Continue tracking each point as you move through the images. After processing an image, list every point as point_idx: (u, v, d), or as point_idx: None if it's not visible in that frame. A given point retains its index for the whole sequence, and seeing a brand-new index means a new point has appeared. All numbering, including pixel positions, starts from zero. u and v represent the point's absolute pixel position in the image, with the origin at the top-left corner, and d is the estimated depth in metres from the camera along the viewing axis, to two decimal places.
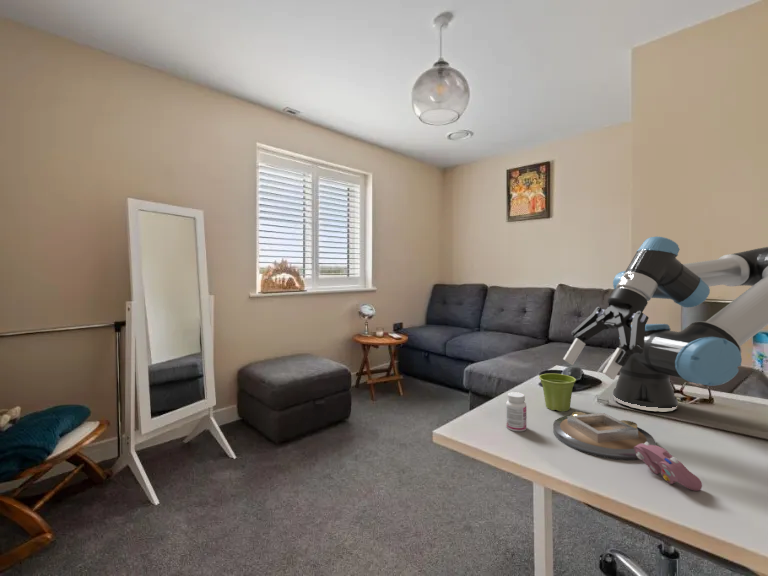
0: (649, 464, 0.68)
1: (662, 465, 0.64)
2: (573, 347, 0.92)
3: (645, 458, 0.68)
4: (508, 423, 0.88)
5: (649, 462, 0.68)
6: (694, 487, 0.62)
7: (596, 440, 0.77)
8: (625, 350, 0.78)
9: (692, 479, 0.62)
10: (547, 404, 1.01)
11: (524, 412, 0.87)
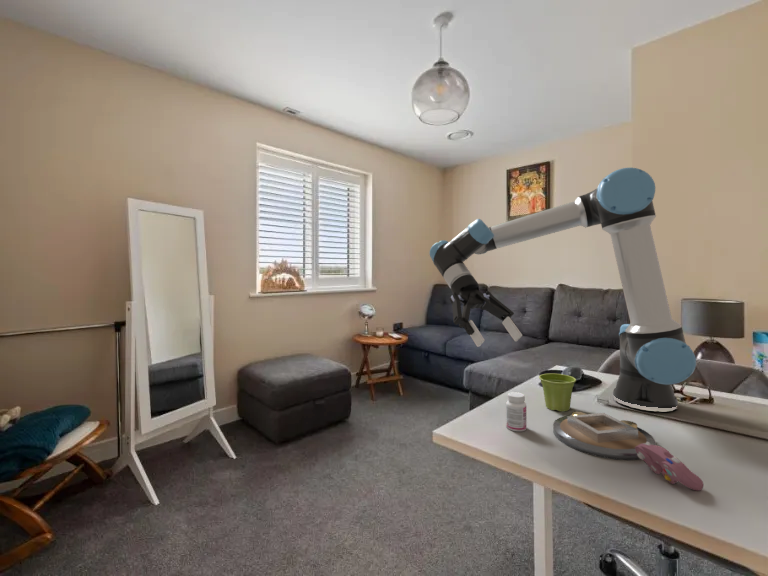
0: (650, 464, 0.68)
1: (664, 465, 0.64)
2: (507, 329, 0.99)
3: (646, 458, 0.68)
4: (508, 423, 0.88)
5: (651, 462, 0.68)
6: (695, 487, 0.62)
7: (596, 440, 0.77)
8: None
9: (693, 479, 0.62)
10: (547, 404, 1.01)
11: (524, 412, 0.87)
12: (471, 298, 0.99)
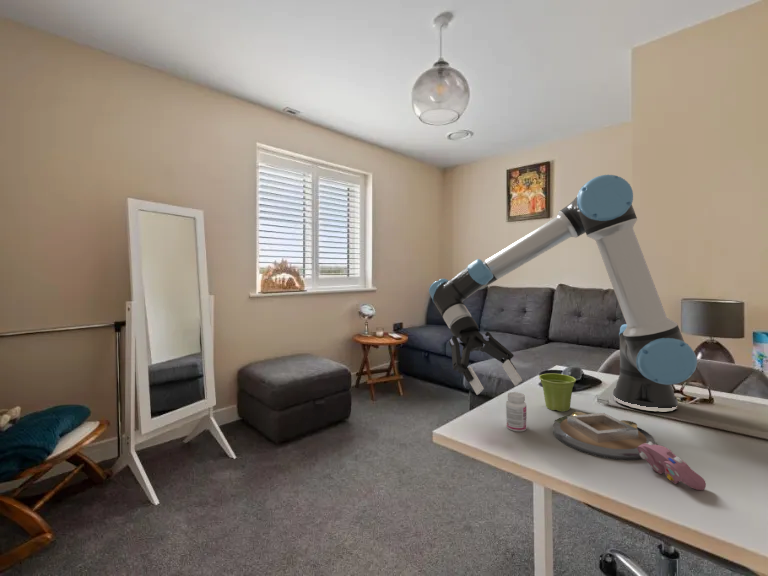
0: (652, 464, 0.68)
1: (666, 465, 0.64)
2: (507, 372, 0.99)
3: (649, 458, 0.68)
4: (508, 423, 0.88)
5: (653, 462, 0.68)
6: (698, 486, 0.62)
7: (596, 440, 0.77)
8: None
9: (696, 479, 0.62)
10: (547, 404, 1.01)
11: (524, 412, 0.87)
12: (470, 341, 0.99)
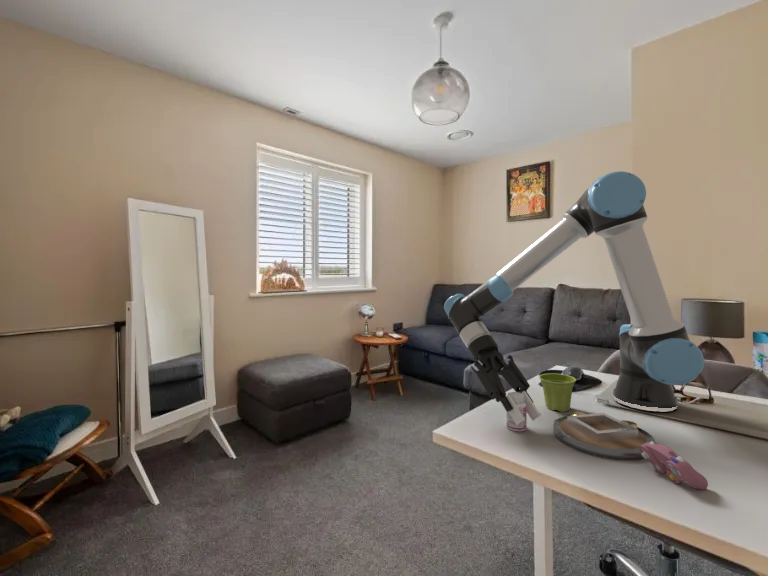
0: (654, 464, 0.69)
1: (669, 465, 0.64)
2: None
3: (651, 457, 0.68)
4: (508, 423, 0.88)
5: (655, 461, 0.68)
6: (700, 486, 0.62)
7: (596, 440, 0.77)
8: None
9: (698, 478, 0.62)
10: (547, 404, 1.01)
11: (524, 412, 0.87)
12: (493, 363, 0.93)
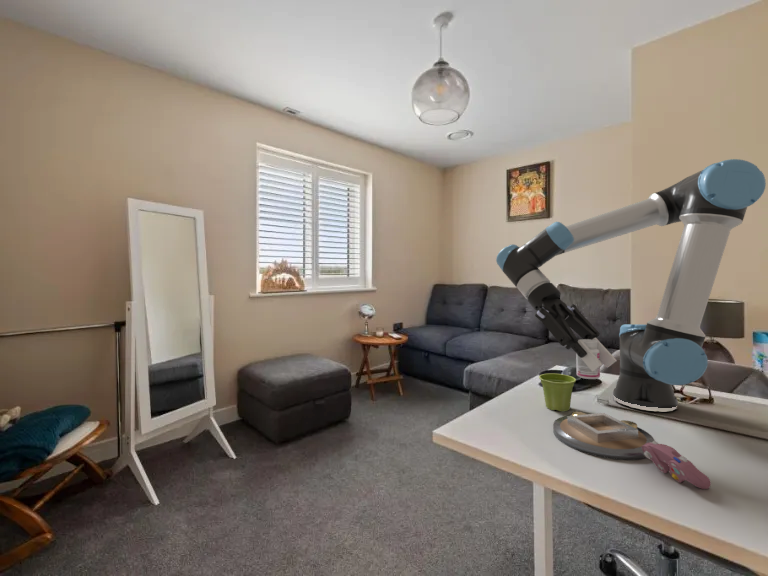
0: (657, 463, 0.69)
1: (671, 464, 0.64)
2: None
3: (653, 457, 0.69)
4: (580, 371, 0.82)
5: (658, 461, 0.68)
6: (703, 485, 0.62)
7: (596, 440, 0.77)
8: None
9: (701, 478, 0.62)
10: (547, 404, 1.01)
11: (598, 358, 0.81)
12: (559, 310, 0.87)
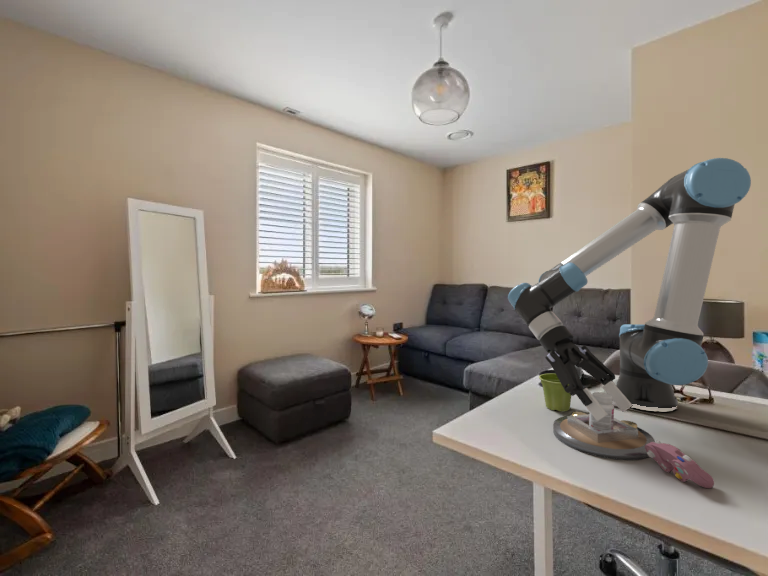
0: (660, 463, 0.69)
1: (675, 463, 0.64)
2: None
3: (656, 456, 0.69)
4: (593, 425, 0.82)
5: (661, 460, 0.68)
6: (707, 484, 0.62)
7: (596, 440, 0.77)
8: None
9: (704, 477, 0.62)
10: (547, 404, 1.01)
11: (612, 414, 0.81)
12: (571, 355, 0.86)
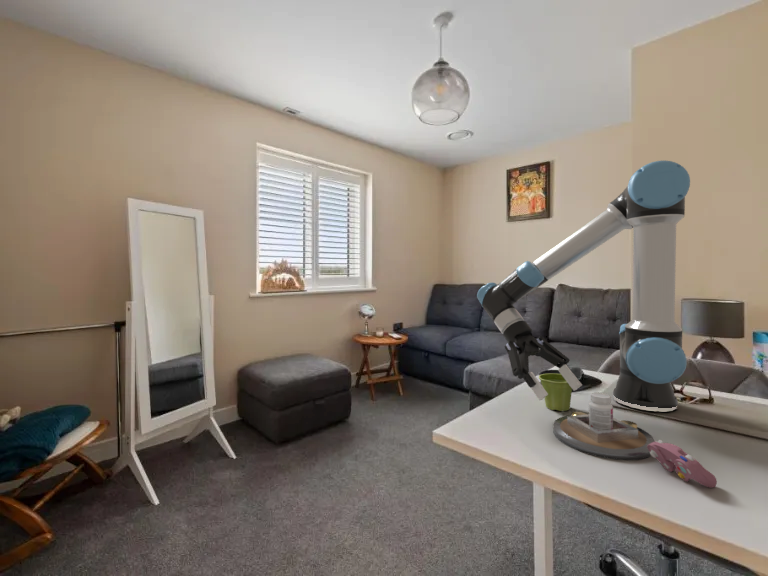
0: (663, 462, 0.69)
1: (678, 463, 0.65)
2: (564, 377, 0.97)
3: (659, 456, 0.69)
4: (593, 425, 0.82)
5: (664, 460, 0.68)
6: (710, 484, 0.62)
7: (596, 440, 0.77)
8: None
9: (707, 476, 0.62)
10: (547, 404, 1.01)
11: (611, 414, 0.81)
12: (527, 346, 0.97)
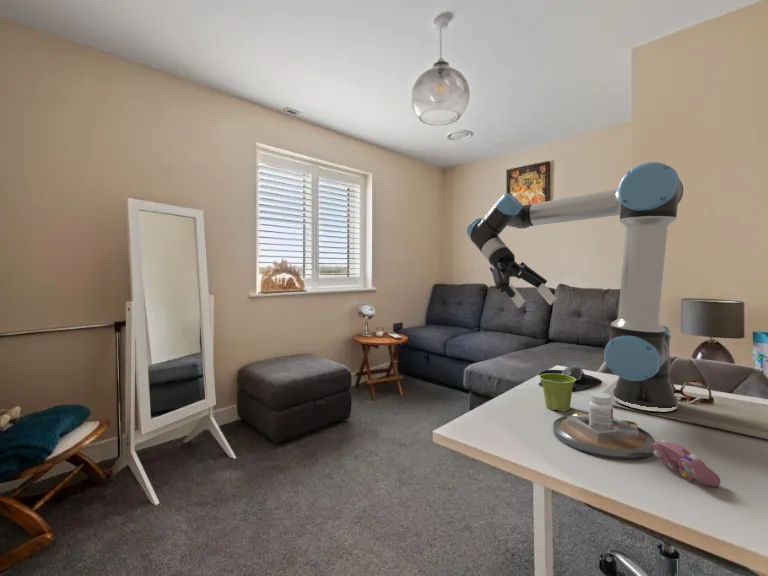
0: (666, 462, 0.69)
1: (682, 462, 0.65)
2: (542, 294, 1.10)
3: (663, 455, 0.69)
4: (593, 425, 0.82)
5: (667, 459, 0.68)
6: (713, 483, 0.63)
7: (596, 440, 0.77)
8: (504, 289, 1.05)
9: (711, 476, 0.62)
10: (547, 404, 1.01)
11: (611, 414, 0.81)
12: (509, 267, 1.10)
